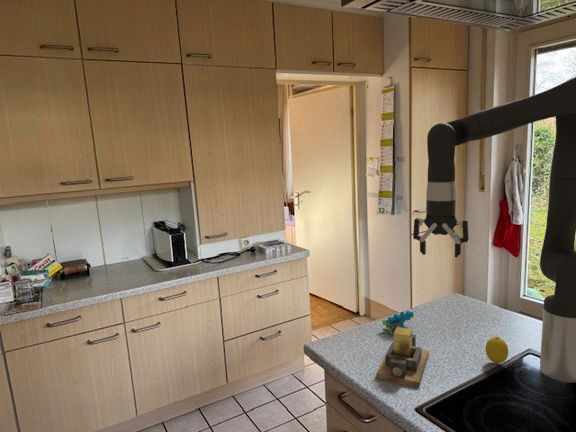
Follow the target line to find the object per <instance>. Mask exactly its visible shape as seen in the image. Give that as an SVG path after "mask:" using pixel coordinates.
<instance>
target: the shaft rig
mask: <svg viewBox="0 0 576 432" xmlns="http://www.w3.org/2000/svg"><path fill="white" fill-rule="evenodd" d="M416 337H417V336H416V334H412V358H407V357H402V356H396V355H394V342H391V343H390V345H389V347H388V349H387V351H386V353H385V355H384V357H383V359H382V360H381V363H380V365H379V367H378V369H377V371H376V373H375V374H376V375H375V376H376V377H375V378H376V379H378V380H382V381H387V382H393V383H397V384H400V385H406V386H409V387H414V388H420V386H421V383H422V380H423V376H424V373H425V370H426V366H427V364H428V359H429V355H430V351H429V350H424V349H422V347H420V346H417V345H416V344H417V343H416V340H417V339H416Z"/></svg>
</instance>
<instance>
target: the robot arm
mask: <svg viewBox="0 0 576 432" xmlns="http://www.w3.org/2000/svg"><path fill="white" fill-rule="evenodd" d="M551 118H555V141H554V148H553V153H552V158H551V159H552V160H551V168H550V174H549V185H548V186H549V187H548V202H547V203H548V205H547V213H546V215H547V216H546V226H545V231H544V233H545V234H544V238H543V241H542V242H543V243H542V247H541V252H540V253H541V254H540V258H539V268H540V271H541V273H542V275H544V277H545V278H546V279H548V280H550V281H552V282H553V283H554V284H555V287H554V293H553V294H551V295H550V294H549V295H547V296H546V297H545V298H544V300H543V308H542V309H543V311H542V323H541V324H542V325H541V326H542V328H541V341H540V342H541V344H540V359H539V370H540V371H541V373H542V374H543V375H545V376H546V377H548V378H550V379H552V380H554V381H558V382H561V383H571V384H572V383H576V248H575V246H576V244H575V242H576V75H574V76H572V77H570V78H569V79H567V80H566V81H563V82H562V83H560V84H558V85H556V86H553V87H551V88H549V89H546V90H545V91H544V90H543V91H541V92H538V93H536V94H533V95H531V96H527V97H524V98H520V99H517V100H514V101H510V102H507V103H503V104H499V105H495V106H492V107H489V108H485V109H482V110H480V111H476V112H474V113H473V112H472V113H471V114H468V115H466V116H465V117H462V118H459V119H455V120H452V121H448V122H440V123H436V124H435V125H433V126H432V127H431V128H430V129H429V131H428V132H427V138H426V144H427V157H428V159H427V160H428V163H427V165H428V166H427V182H426V183H427V184H426V193H425V194H426V197H425V198H426V202H425V203H426V207H425V208H426V209H425V211H426V213H425V214H426V215H425V218H420V217H419V216H418V217H416V218H414V220H413V233H412V235H413V236H412V238H413V239H414V240H417V241H418V242H419V252H420V253H421V254H422V255H423V256H425V255H427V241H426V239H428V237H429V236H430V235H431V234H433V235H435V236H436V235H441V236H447V235H449V236H450V238H451V239H452V240H453V241H454V242H455V244H454V258H458V257H459V256H460V255H461V252H462V244H463V243H468V241H469V238H470V237H469V220H468V219H467V218H464V219H457V218H456V207H457V206H456V205H457V202H456V198H457V193H456V192H457V188H456V162H455V154H456V147H457V146H461V145H463V144H466V143H468V142H475V141H479V140H483V139H486V138H490V137H493V136H497V135H500V134H503V133H506V132H509V131H510V132H511V131H512V130H515V129H518V128H521V127H523V126H526V125H529V124H532V123H536V122H538V121H543V120H547V119H551ZM423 224H424V225H425V227H427V230H426V231H425V232H424V234H422V235H421V234H420V227H422V225H423ZM457 225H458V226H459V228H460V229H462V237H460V236H459V234H457V231H456V230H455V227H456V226H457Z"/></svg>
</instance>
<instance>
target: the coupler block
mask: <svg viewBox="0 0 576 432" xmlns="http://www.w3.org/2000/svg"><path fill="white" fill-rule="evenodd" d="M412 335H413V328H406V327H405V328H401V326H397V327H396V328H395V330H394V331H393V343H394V355H396V356H402V357H407V358H412Z"/></svg>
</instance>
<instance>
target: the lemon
mask: <svg viewBox="0 0 576 432" xmlns="http://www.w3.org/2000/svg"><path fill="white" fill-rule="evenodd" d="M485 353H486V354H485V355H486V357H487V358H488V360H490V361H491V362H493V364H495V365H498V364H502V363H504V362H505V361H506V360H507V359H508V357H509V348H508V344H507V342H506V341H505V340H504V339H502V338H500V337H499V336H494V337H491V338H489V339H488V340H487V342H486V344H485Z"/></svg>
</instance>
